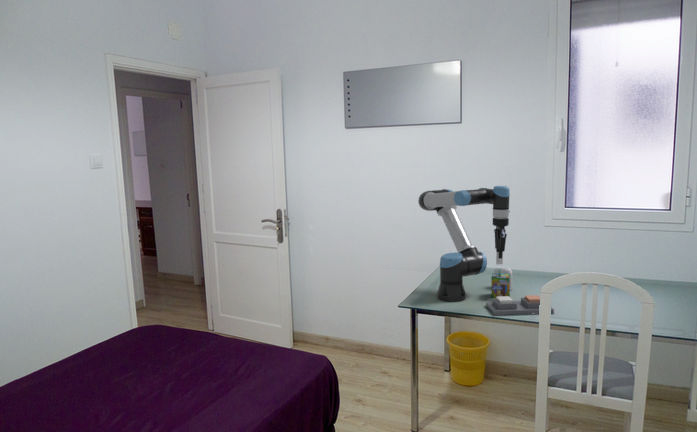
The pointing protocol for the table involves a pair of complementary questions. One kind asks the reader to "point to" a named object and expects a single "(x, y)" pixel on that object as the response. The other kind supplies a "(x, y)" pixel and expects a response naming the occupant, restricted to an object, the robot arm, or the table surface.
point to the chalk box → (500, 285)
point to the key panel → (514, 307)
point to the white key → (504, 300)
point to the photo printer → (505, 271)
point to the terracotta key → (532, 298)
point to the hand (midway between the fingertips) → (499, 264)
